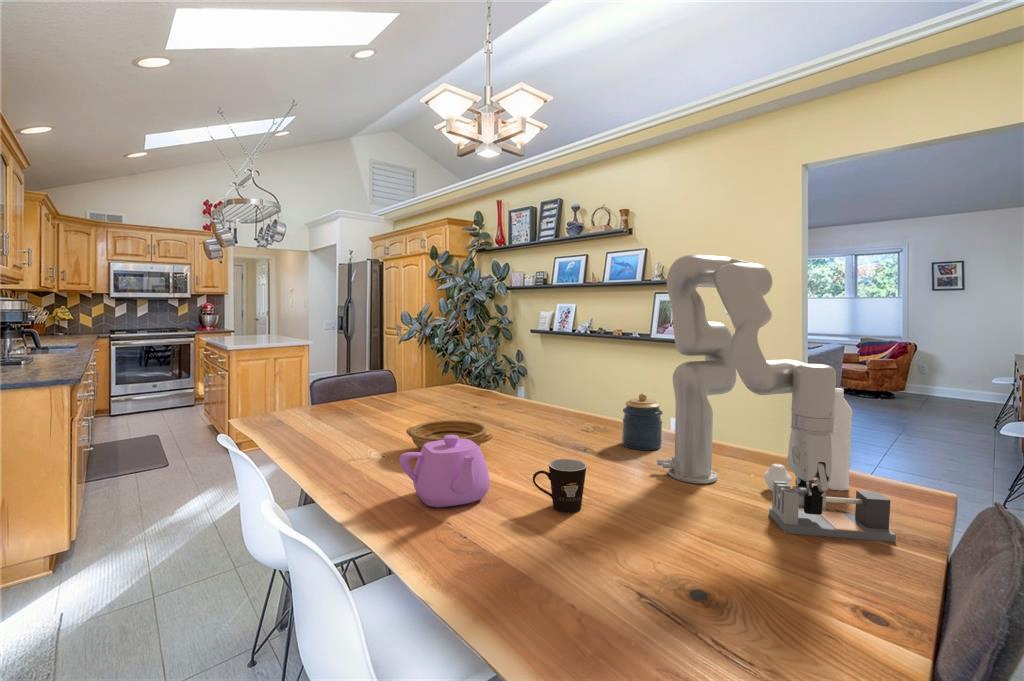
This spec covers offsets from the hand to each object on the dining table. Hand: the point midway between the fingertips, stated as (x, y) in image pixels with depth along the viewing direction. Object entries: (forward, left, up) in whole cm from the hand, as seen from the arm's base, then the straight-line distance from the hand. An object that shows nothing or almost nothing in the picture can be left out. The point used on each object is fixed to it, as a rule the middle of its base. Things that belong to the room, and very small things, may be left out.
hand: (808, 508), depth 99 cm
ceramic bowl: (-90, +34, -4) cm, 96 cm away
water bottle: (+17, +27, -4) cm, 32 cm away
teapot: (-78, 0, -4) cm, 78 cm away
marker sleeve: (0, 0, +1) cm, 1 cm away
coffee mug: (-52, 0, -4) cm, 52 cm away
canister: (-29, +55, -4) cm, 62 cm away
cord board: (+4, 0, -4) cm, 5 cm away
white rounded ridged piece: (+1, +20, -4) cm, 20 cm away
